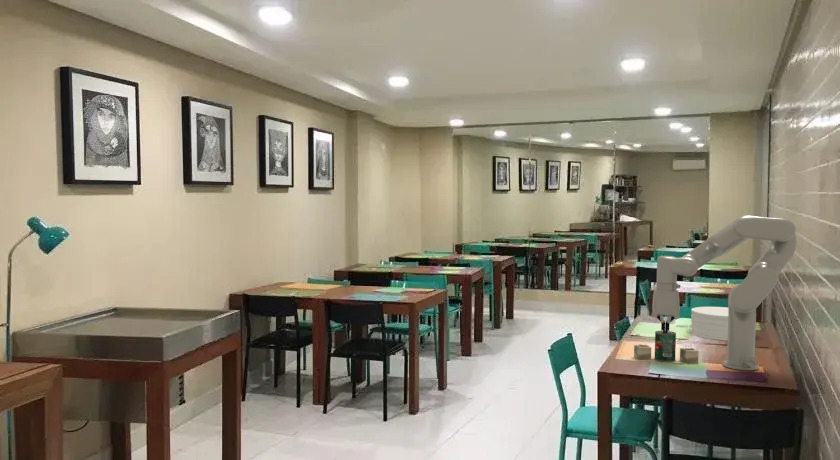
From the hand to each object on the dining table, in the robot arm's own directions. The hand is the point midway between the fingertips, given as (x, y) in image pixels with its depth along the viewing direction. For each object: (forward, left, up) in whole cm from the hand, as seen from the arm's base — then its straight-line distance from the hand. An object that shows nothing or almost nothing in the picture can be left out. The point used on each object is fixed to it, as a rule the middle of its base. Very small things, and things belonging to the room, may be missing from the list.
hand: (665, 332), depth 262 cm
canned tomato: (0, 0, -11) cm, 11 cm away
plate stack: (+46, -51, -11) cm, 70 cm away
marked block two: (+3, +8, -11) cm, 14 cm away
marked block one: (-4, -8, -11) cm, 14 cm away
